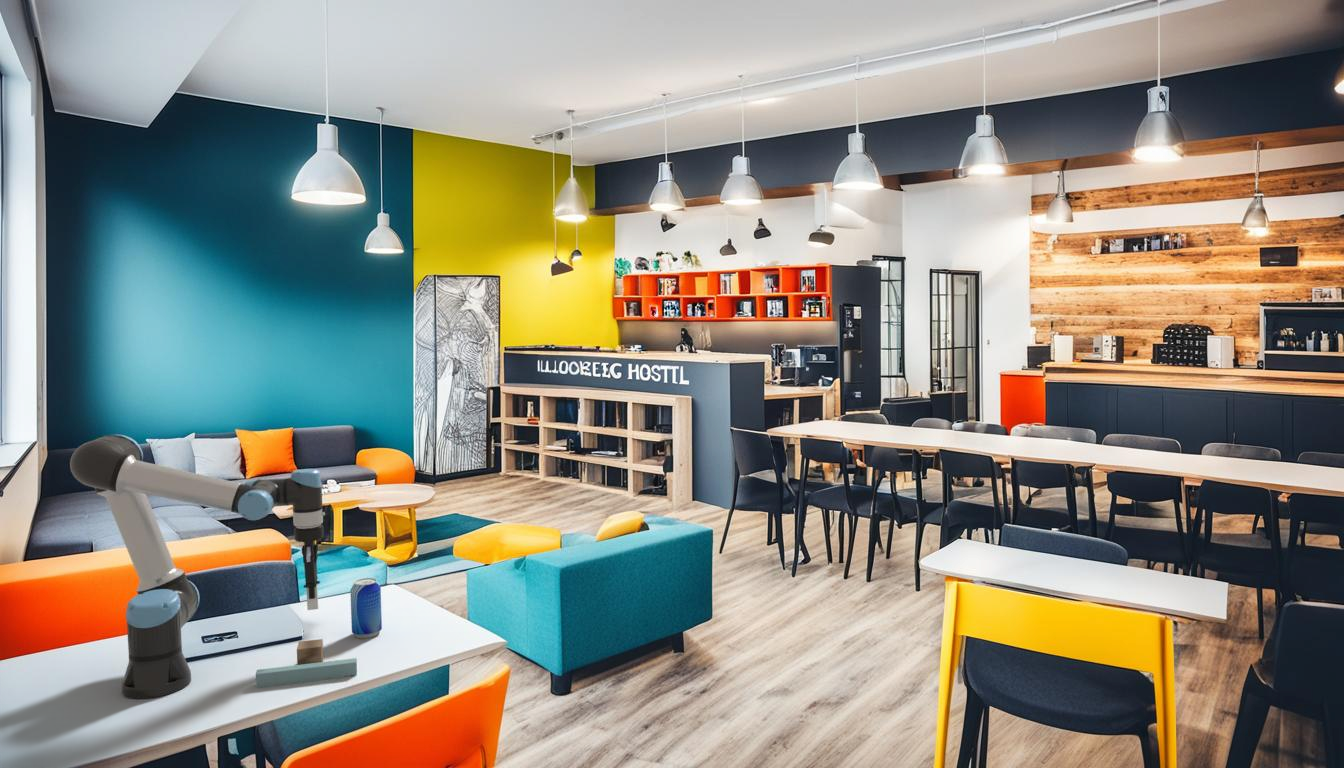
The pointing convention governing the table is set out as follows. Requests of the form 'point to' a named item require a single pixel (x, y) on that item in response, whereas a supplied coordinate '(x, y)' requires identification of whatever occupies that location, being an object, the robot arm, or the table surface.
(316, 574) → the robot arm
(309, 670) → the board
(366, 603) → the beer can
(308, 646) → the block
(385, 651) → the table surface
